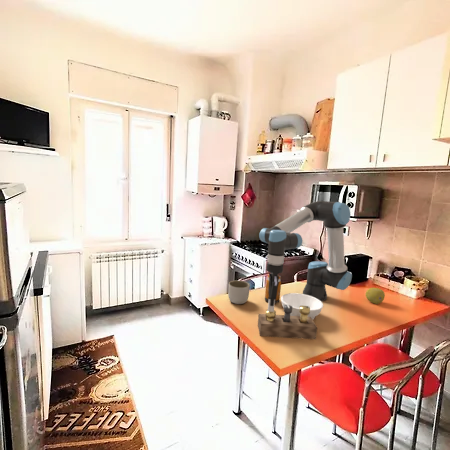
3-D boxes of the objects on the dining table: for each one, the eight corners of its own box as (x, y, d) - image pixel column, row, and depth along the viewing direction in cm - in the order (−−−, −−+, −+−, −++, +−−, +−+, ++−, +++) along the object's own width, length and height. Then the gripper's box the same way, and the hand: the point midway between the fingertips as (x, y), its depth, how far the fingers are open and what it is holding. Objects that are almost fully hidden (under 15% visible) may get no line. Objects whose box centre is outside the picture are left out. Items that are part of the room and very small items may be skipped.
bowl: (276, 305, 161) (277, 291, 160) (314, 307, 160) (316, 294, 159) (283, 324, 138) (284, 308, 137) (327, 327, 138) (329, 311, 137)
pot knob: (289, 323, 132) (291, 304, 131) (291, 327, 128) (293, 308, 127) (281, 322, 132) (283, 303, 131) (283, 326, 128) (284, 307, 127)
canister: (278, 298, 170) (281, 268, 167) (280, 306, 159) (283, 273, 157) (264, 297, 171) (266, 266, 168) (265, 304, 160) (267, 272, 157)
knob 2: (306, 324, 132) (308, 305, 131) (309, 329, 128) (311, 310, 126) (296, 323, 132) (298, 305, 131) (299, 328, 128) (301, 309, 126)
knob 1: (273, 327, 133) (275, 309, 132) (275, 332, 128) (276, 314, 127) (263, 327, 133) (265, 308, 132) (264, 332, 128) (266, 313, 127)
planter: (244, 296, 170) (245, 280, 168) (251, 305, 158) (252, 287, 157) (225, 297, 166) (226, 280, 165) (231, 306, 155) (232, 288, 153)
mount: (309, 328, 135) (310, 317, 135) (315, 339, 125) (317, 327, 125) (257, 324, 136) (258, 313, 135) (259, 335, 126) (260, 323, 125)
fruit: (387, 305, 171) (389, 290, 169) (374, 306, 167) (376, 291, 166) (373, 298, 180) (375, 284, 179) (361, 300, 177) (363, 285, 175)
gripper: (265, 259, 132) (261, 304, 136) (269, 266, 119) (264, 317, 123) (280, 260, 132) (276, 305, 136) (286, 267, 119) (281, 318, 123)
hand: (270, 311), depth 129 cm, fingers closed
